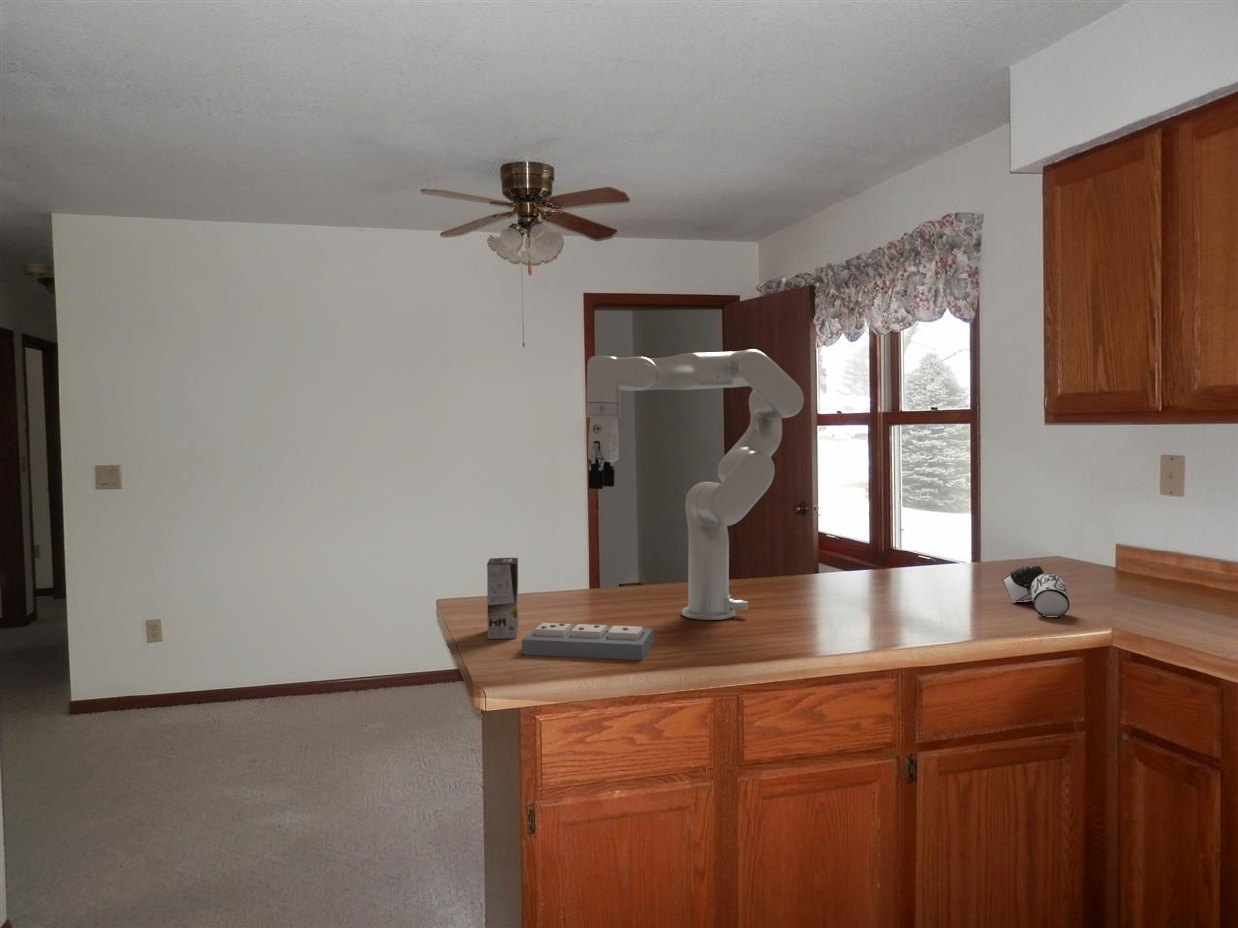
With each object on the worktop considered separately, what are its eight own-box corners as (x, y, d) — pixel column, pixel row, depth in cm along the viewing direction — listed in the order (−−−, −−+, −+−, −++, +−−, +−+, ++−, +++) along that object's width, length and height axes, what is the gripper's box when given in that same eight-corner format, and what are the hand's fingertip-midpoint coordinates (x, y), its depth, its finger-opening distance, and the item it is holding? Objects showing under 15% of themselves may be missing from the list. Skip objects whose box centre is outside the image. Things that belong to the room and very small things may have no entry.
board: (652, 642, 187) (652, 628, 187) (642, 660, 173) (642, 644, 173) (541, 637, 192) (541, 623, 191) (522, 654, 178) (521, 639, 178)
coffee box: (517, 638, 191) (517, 563, 190) (487, 639, 190) (486, 563, 190) (518, 629, 200) (518, 557, 199) (489, 629, 200) (489, 557, 199)
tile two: (606, 634, 185) (606, 624, 185) (600, 641, 179) (600, 630, 179) (578, 633, 186) (578, 623, 186) (571, 640, 180) (571, 629, 180)
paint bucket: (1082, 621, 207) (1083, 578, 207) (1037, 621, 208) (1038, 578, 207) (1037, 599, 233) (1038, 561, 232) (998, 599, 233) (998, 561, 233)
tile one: (642, 636, 183) (642, 625, 183) (637, 643, 178) (637, 632, 177) (613, 635, 185) (613, 624, 184) (608, 642, 179) (608, 631, 179)
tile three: (570, 633, 186) (570, 622, 186) (563, 640, 180) (563, 629, 180) (542, 632, 187) (542, 621, 187) (534, 638, 181) (534, 628, 181)
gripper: (609, 410, 193) (608, 490, 194) (628, 412, 210) (626, 486, 211) (576, 410, 195) (574, 489, 196) (597, 412, 212) (595, 484, 213)
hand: (601, 487), depth 203 cm, fingers open, 9 cm apart
